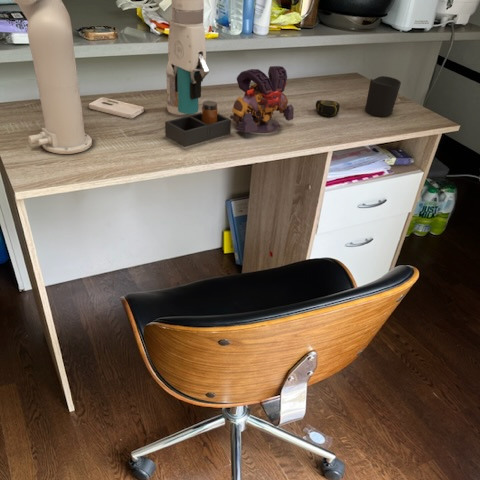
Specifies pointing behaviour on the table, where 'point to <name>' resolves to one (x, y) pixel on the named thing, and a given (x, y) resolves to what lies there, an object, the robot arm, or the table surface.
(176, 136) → the cup holder
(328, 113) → the tape measure
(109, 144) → the table surface
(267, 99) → the figurine
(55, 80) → the robot arm
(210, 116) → the spice jar
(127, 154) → the table surface
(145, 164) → the table surface
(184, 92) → the water bottle
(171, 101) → the bath foam
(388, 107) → the pen holder
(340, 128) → the table surface
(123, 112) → the phone case
